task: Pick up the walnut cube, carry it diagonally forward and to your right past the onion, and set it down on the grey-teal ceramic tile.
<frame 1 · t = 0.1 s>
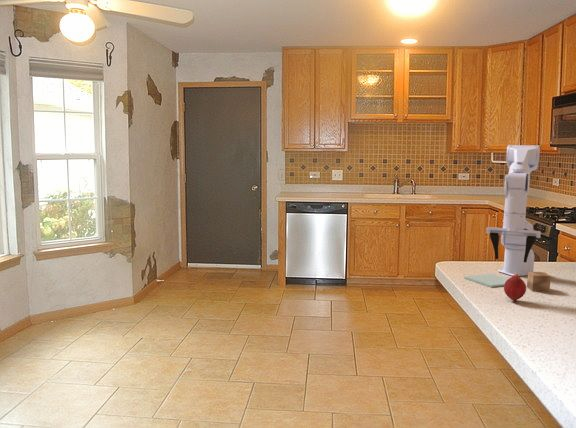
hand: (510, 260, 156), 10 cm above the counter, tool pointing down, fingers open, 7 cm apart
onion: (513, 301, 152), on the counter
walnut cube: (537, 289, 166), on the counter
ceramic tile: (491, 281, 174), on the counter
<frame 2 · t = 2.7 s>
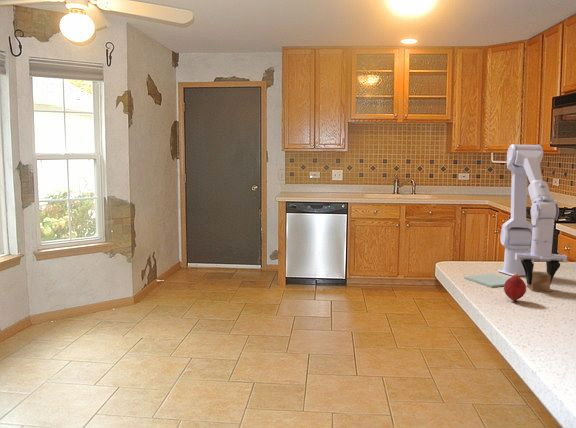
hand: (538, 284, 165), 2 cm above the counter, tool pointing down, fingers closed on walnut cube, 5 cm apart
walnut cube: (538, 289, 166), on the counter, touching gripper
everything else where it was.
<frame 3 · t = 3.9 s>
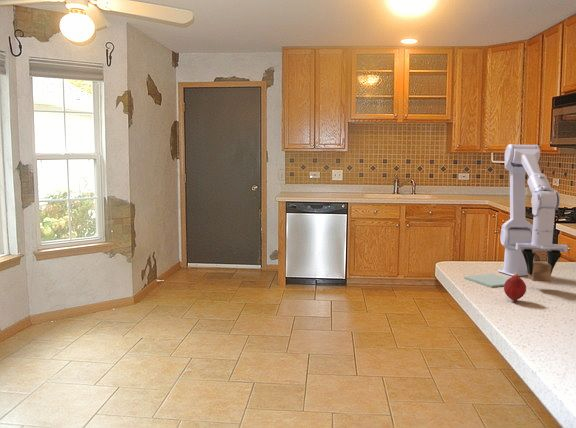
hand: (539, 274, 165), 5 cm above the counter, tool pointing down, fingers closed on walnut cube, 5 cm apart
walnut cube: (538, 279, 165), point 3 cm above the counter, touching gripper
everything else where it was.
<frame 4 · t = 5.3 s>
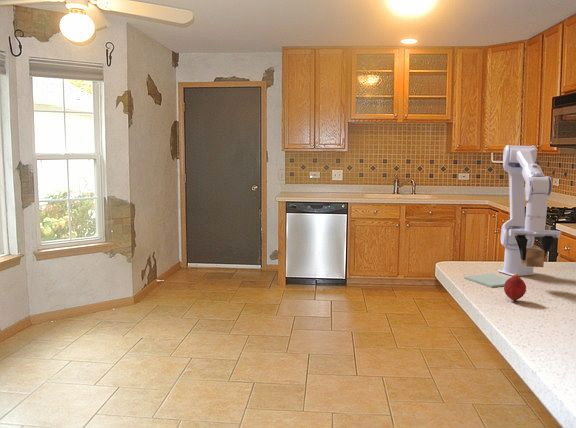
hand: (532, 259, 166), 9 cm above the counter, tool pointing down, fingers closed on walnut cube, 5 cm apart
walnut cube: (532, 265, 166), point 7 cm above the counter, touching gripper
everything else where it was.
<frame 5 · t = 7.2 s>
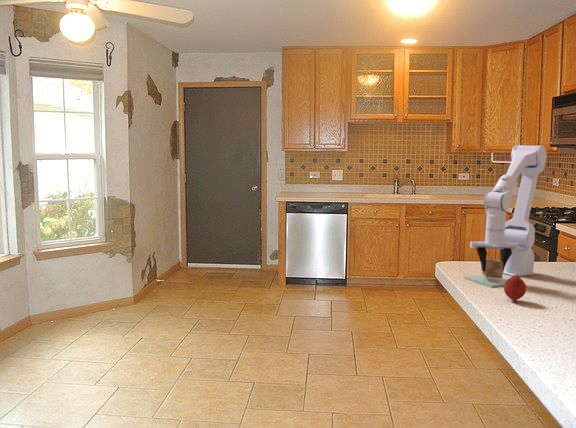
hand: (492, 270, 174), 3 cm above the counter, tool pointing down, fingers closed on walnut cube, 5 cm apart
walnut cube: (492, 275, 174), point 2 cm above the counter, touching gripper
everything else where it was.
when the fingers open (3 cm above the counter, at t = 8.4 s): walnut cube stays where it is, resting on ceramic tile.
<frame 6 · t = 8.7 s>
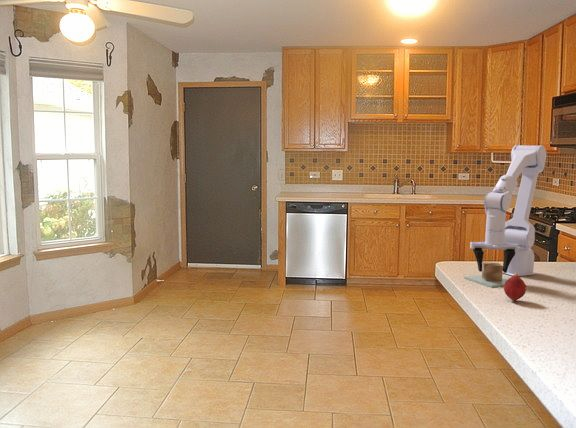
hand: (492, 271, 174), 3 cm above the counter, tool pointing down, fingers open, 7 cm apart
walnut cube: (491, 279, 174), point 1 cm above the counter, touching ceramic tile
everything else where it was.
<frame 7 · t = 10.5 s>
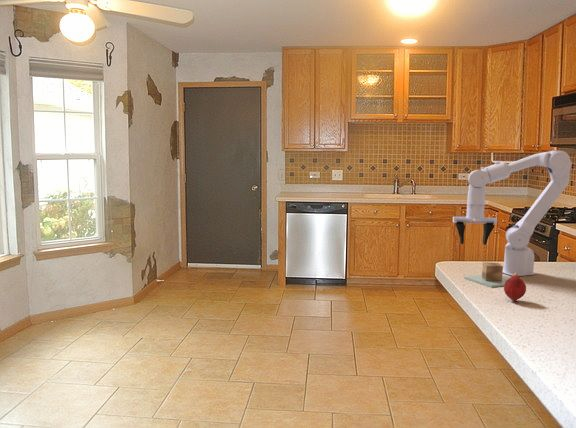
hand: (473, 243, 188), 9 cm above the counter, tool pointing down, fingers open, 7 cm apart
nothing on the counter moved.
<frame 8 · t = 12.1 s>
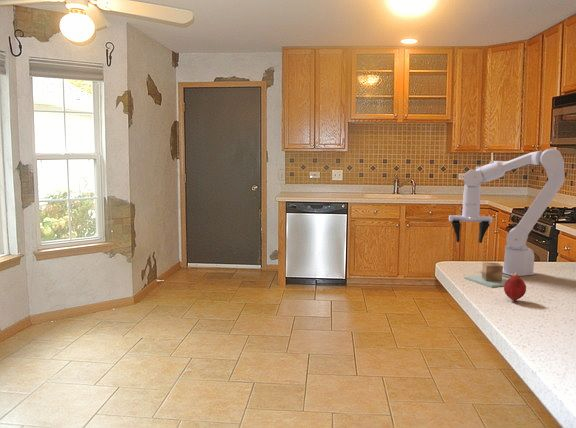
hand: (468, 242, 191), 9 cm above the counter, tool pointing down, fingers open, 7 cm apart
nothing on the counter moved.
at the end: walnut cube inside the target area on the ceramic tile (0.0 cm from its centre), point 0.6 cm above the ceramic tile's base; the gripper is holding nothing; walnut cube moved 14.1 cm from its start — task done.
